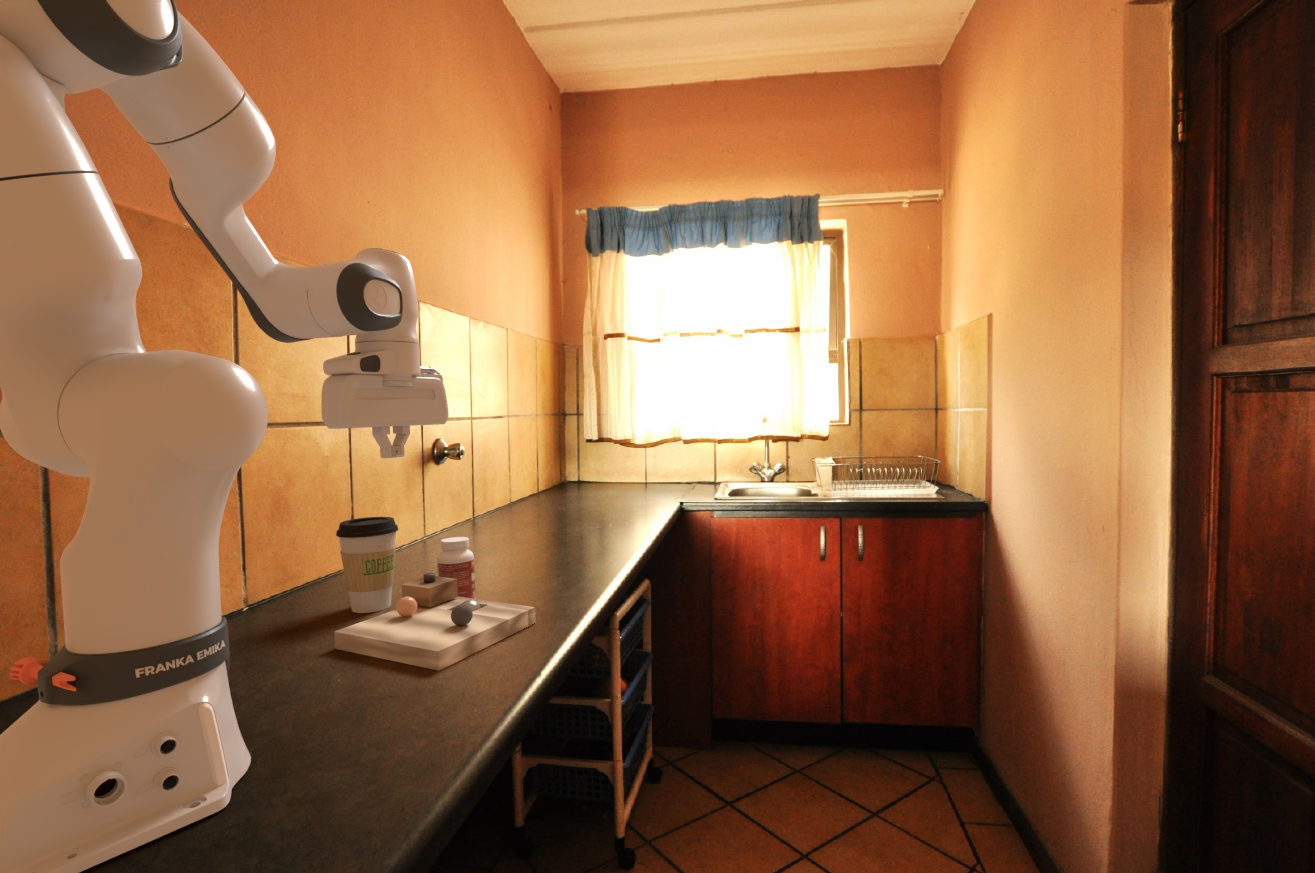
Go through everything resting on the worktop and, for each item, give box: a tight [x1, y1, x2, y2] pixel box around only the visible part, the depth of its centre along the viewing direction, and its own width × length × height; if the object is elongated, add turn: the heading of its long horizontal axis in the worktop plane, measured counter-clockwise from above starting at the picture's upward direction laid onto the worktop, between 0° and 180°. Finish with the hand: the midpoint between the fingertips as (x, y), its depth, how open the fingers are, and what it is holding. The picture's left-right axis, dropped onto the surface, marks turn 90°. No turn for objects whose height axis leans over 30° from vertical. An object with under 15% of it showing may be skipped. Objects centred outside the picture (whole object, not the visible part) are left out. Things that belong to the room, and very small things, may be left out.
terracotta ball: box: [395, 596, 417, 617], centre depth 99 cm, size 3×3×3 cm
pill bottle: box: [436, 536, 477, 599], centre depth 115 cm, size 6×6×11 cm
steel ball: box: [462, 600, 481, 612], centre depth 103 cm, size 4×4×4 cm
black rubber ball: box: [451, 604, 473, 626], centre depth 94 cm, size 3×3×3 cm
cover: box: [401, 572, 458, 607], centre depth 107 cm, size 6×6×4 cm
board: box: [334, 597, 537, 671], centre depth 98 cm, size 20×20×2 cm
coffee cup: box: [335, 516, 399, 614], centre depth 113 cm, size 10×10×15 cm
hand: (392, 457), depth 98 cm, fingers closed
